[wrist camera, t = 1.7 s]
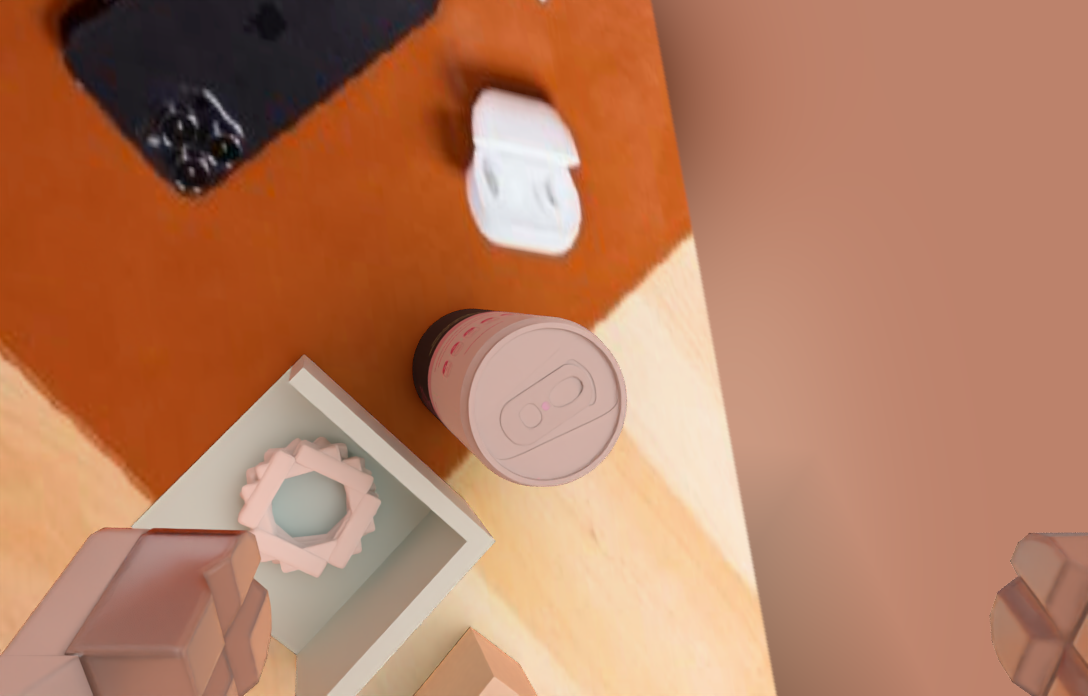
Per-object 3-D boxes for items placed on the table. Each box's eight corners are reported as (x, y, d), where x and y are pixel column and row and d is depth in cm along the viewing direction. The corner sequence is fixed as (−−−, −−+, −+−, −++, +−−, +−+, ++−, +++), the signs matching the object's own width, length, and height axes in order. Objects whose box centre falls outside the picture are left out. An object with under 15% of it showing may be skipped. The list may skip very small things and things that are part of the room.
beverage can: (547, 384, 44) (659, 428, 30) (450, 447, 43) (520, 525, 29) (489, 286, 43) (579, 284, 29) (388, 348, 42) (429, 378, 27)
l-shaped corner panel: (304, 353, 40) (303, 367, 33) (464, 500, 44) (495, 541, 36) (130, 526, 39) (90, 580, 31) (311, 666, 42) (311, 744, 35)
